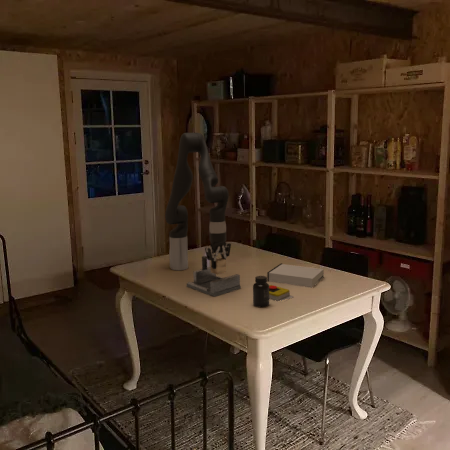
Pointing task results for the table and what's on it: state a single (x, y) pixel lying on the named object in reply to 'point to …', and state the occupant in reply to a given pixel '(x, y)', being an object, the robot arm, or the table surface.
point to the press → (217, 285)
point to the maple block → (219, 266)
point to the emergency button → (279, 293)
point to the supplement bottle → (261, 292)
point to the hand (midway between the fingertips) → (218, 267)
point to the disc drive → (295, 275)
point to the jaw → (203, 273)
